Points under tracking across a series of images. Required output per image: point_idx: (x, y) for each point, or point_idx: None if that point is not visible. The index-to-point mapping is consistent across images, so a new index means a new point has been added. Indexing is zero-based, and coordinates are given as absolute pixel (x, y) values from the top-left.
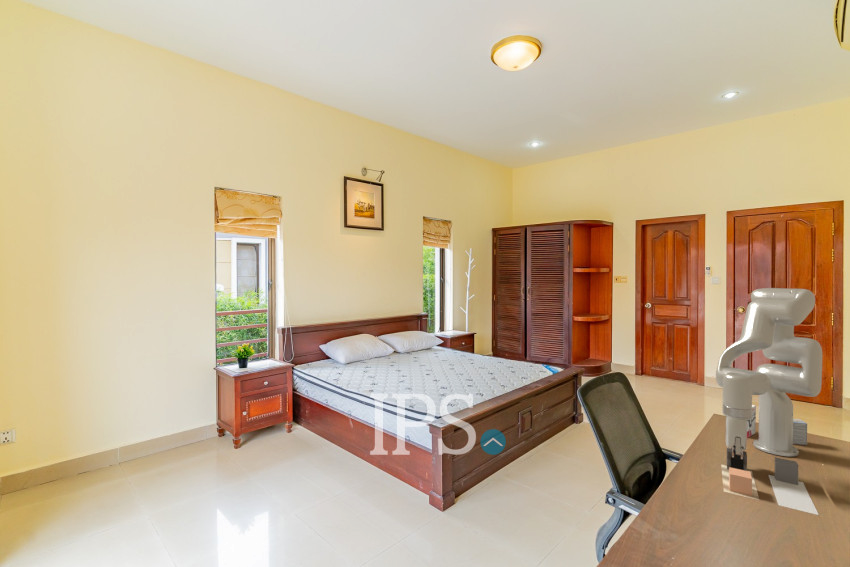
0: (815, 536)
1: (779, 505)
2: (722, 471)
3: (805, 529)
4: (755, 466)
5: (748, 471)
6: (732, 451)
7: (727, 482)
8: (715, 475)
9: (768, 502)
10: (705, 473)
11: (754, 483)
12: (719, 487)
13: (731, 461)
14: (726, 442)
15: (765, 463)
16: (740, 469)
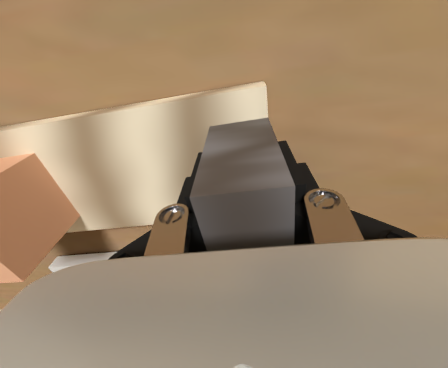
0: (15, 292)
1: (49, 268)
2: (153, 109)
3: (23, 284)
4: (388, 205)
5: (15, 277)
6: (147, 251)
7: (35, 146)
8: (128, 69)
9: (77, 240)
10: (98, 4)
11: (142, 224)
12: (4, 109)
13: (193, 177)
14: (66, 316)
15: (445, 230)
16: None
